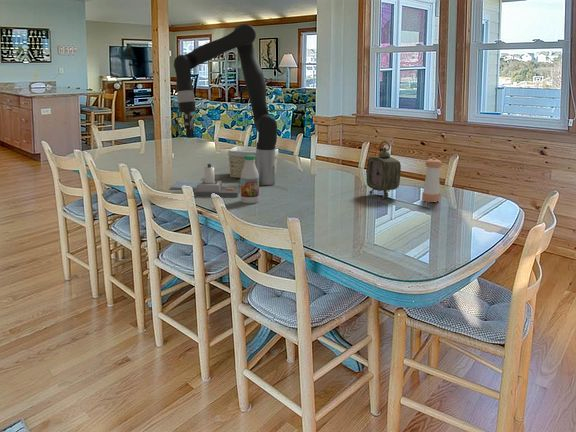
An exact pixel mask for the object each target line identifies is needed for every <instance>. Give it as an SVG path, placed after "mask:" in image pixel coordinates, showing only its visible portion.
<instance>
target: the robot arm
mask: <svg viewBox="0 0 576 432" xmlns="http://www.w3.org/2000/svg"><path fill="white" fill-rule="evenodd" d="M256 38H257V32H256V29H255V28H254V26H252V25H251V24H248V23H242V24H239V25H237V26H236V27H234V29H233V31H232V32H230V33H229V34H227V35H224V36H223V37H220V38H218V39H215V40H212V41H210V42H207V43H204V44H203V45H201V46H197V47H196V48H194V49H193V50H191V51H190V52H188V53H186V54H179V55H177V56H176V57H175V58H174V61H173V67H174V70H175V76H176V80H175V81H176V83H175V84H176V85H175V86H176V91H177V98H176V99H177V105H178V112H179V113H180V114H183V116H182V117H183V124H184V129H185V133H186V138H187V139H194V138H195V134H194V133H195V131H194V130H195V124H194V115H193V114H192V113H195V112H197V107H196V100H195V94H194V93H195V92H194V87H193V81H192V70H193V69H194V68H197V66H200V65H202V64H205V63H206V62H208V61H211V60H214V59H215V58H217V57H218V56H220V55H223V54H224V53H226V52H229V51H231V50H234V49H236V50H237V52H238V55H239V59H240V64H241V70H242V75H243V79H244V84H245V88H246V91H247V94H248V98H249V99H248V100H249V102H250V105H251V109H252V116H253V124H254V128H255V130H256V131H257V132H258V134H257V135H258V138H257V142H256V143H255V145H256V146H255V147H256V168H257V170H258V174H259V186H275V185H276V175H275V149H276V145H277V141H278V140H277V139H278V123H277V120H276V119H275V118H274V117H273V116H271V115H270V113H269V109H268V106H267V85H266V81H265V79H266V78H265V76H264V75H265V74H264V72H263V70H262V67H261V64H260V62H259V60H258V58H257V55H256V53H255V48H254V42H255V39H256Z"/></svg>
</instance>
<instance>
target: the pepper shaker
mask: <svg viewBox="0 0 576 432" xmlns="http://www.w3.org/2000/svg"><path fill="white" fill-rule="evenodd" d="M442 166H443V162H442V161H441V160H440V159H438V158H436V157H432V158H429V159H427V160H426V161H425V167H426V173H425V180H424V183H423V192H422V195H421V196H422V197H421V201H422V200H423V202H424V201H426V202H425V203H429V202H434V201H438V200H439V201H440V196H441V195H440V186H441V185H440V172H441V171H440V170H441V167H442Z"/></svg>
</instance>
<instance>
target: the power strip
mask: <svg viewBox="0 0 576 432" xmlns="http://www.w3.org/2000/svg"><path fill="white" fill-rule="evenodd" d="M204 181H205V179H204V180H200V181H198V182H199V183H198V184H197V186H196V187H195V189H194V190H192V191H193V192H194V195H195V196H194V197H197V198H198V197H201V198H202V197H203V198H204V197H205V198H206V197H208V198H212V197H211V194H212V193H215V194H217V195H219V196H220V197H219V198H238V197H239V196H240V195H239V194H240V193H241V186H223V183H222V182H223V181H222V180H215V182H216V184H204Z"/></svg>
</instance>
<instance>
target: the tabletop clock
mask: <svg viewBox="0 0 576 432" xmlns="http://www.w3.org/2000/svg"><path fill="white" fill-rule="evenodd" d="M384 143H385V144H387V145H388V148H387V147H386V146H385V147H383V146H382V145H383V144H384ZM390 147H391V145H390V143H389V142H388V141H386V140H382V141H381V143H380V149H381V150H382V151H381V152H379V154H378V156H370V157H368V159H367V163H366V164H367V167H366V184H367V186H368V187H369V188H370V189H371V190H369V192H368V193H369V194H370V195H372V194H374V191H379V192H382V191H383V195H382V196H381V198H382V199H383V200H385V199H386V198H387V196H388V195H389V193H388V192H387V191H395V190H396V189H398V188H399V187H400V183H401V171H402V170H401V169H402V166H401V161H399V160H398V159H396V158H395V157H392V156H391V154H390V152H389V150H390Z"/></svg>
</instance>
